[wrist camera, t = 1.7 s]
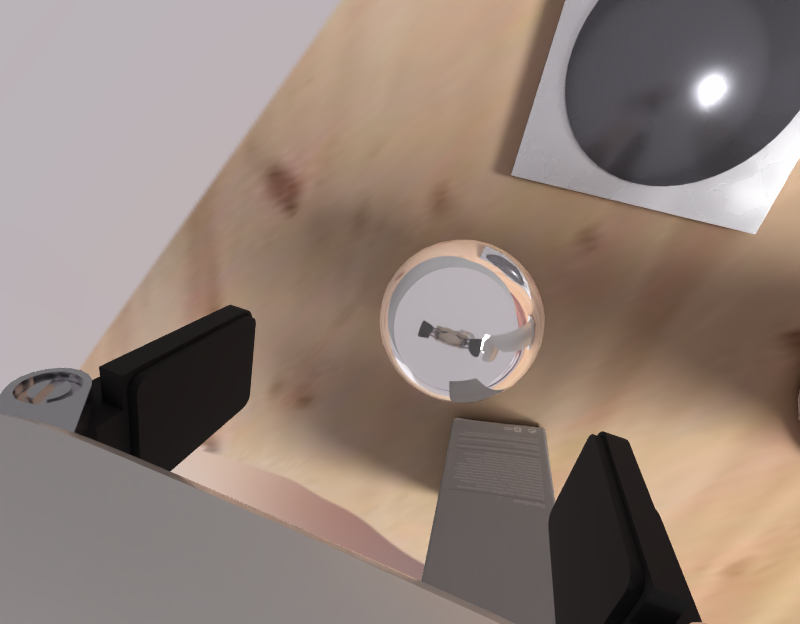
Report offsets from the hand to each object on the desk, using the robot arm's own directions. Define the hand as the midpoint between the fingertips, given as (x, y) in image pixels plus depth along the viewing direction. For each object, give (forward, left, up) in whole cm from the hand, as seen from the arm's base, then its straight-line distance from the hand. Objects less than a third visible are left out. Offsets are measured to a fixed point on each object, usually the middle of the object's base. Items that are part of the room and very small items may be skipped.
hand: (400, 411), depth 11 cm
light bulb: (0, 0, -16) cm, 16 cm away
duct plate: (-6, -12, -16) cm, 21 cm away
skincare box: (-6, +13, -16) cm, 22 cm away
